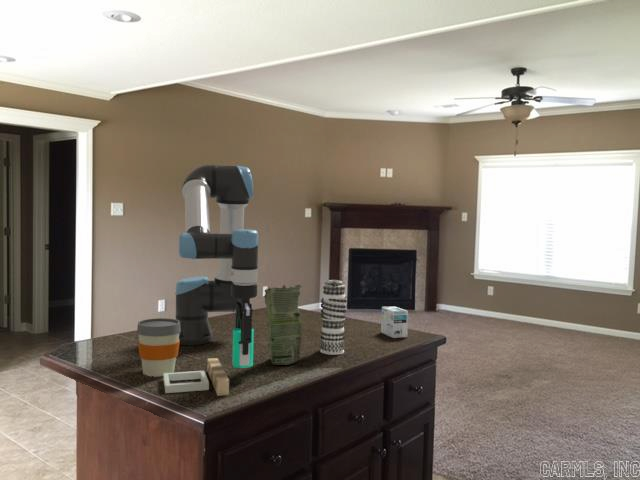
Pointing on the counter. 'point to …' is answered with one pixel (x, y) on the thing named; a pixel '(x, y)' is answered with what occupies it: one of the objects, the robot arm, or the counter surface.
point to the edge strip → (218, 377)
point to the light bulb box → (394, 322)
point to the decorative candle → (333, 317)
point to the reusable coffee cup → (158, 345)
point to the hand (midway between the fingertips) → (242, 361)
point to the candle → (237, 349)
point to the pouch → (283, 324)
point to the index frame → (185, 386)
